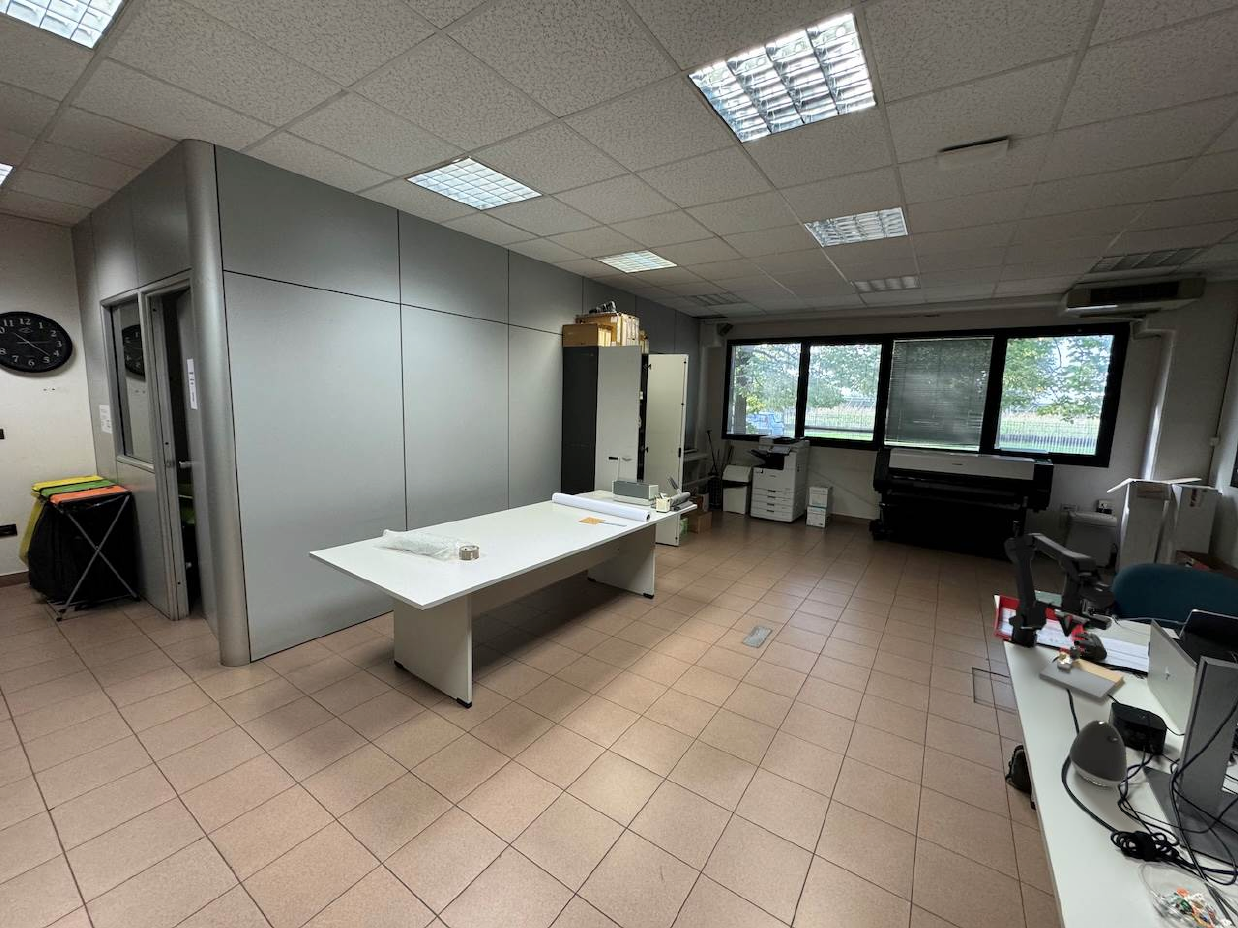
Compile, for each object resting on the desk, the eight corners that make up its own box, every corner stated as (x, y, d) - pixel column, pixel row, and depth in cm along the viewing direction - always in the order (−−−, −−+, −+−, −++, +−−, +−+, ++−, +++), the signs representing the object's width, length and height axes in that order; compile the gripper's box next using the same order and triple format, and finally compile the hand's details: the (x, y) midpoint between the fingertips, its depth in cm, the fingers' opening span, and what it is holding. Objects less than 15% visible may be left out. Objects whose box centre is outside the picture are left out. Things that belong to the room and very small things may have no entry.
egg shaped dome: (1079, 788, 119) (1090, 732, 116) (1058, 757, 129) (1068, 705, 126) (1134, 800, 116) (1146, 743, 113) (1108, 767, 125) (1119, 714, 123)
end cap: (1105, 665, 170) (1109, 647, 169) (1077, 659, 174) (1081, 641, 173) (1098, 652, 178) (1102, 635, 177) (1072, 646, 182) (1075, 629, 181)
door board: (1038, 676, 163) (1040, 666, 163) (1064, 657, 175) (1066, 648, 174) (1099, 702, 151) (1101, 691, 150) (1122, 679, 162) (1125, 669, 161)
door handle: (1067, 670, 163) (1069, 659, 163) (1055, 665, 166) (1057, 654, 165) (1081, 660, 169) (1083, 649, 169) (1069, 655, 172) (1071, 645, 171)
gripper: (1121, 598, 159) (1112, 642, 162) (1049, 577, 175) (1042, 618, 178) (1109, 606, 153) (1100, 652, 156) (1035, 584, 169) (1028, 626, 172)
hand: (1066, 636), depth 166 cm, fingers closed
